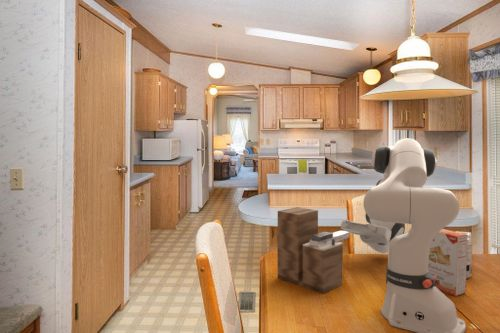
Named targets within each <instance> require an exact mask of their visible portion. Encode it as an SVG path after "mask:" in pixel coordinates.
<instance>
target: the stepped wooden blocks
mask: <svg viewBox="0 0 500 333" xmlns="http://www.w3.org/2000/svg"><path fill="white" fill-rule="evenodd" d="M318 229H319V211H318V209H311V208H305V207H298V206H296V207H292V208H287V209H281V210H278V211H277V279H279V280H282V281H285V282H288V283H290V284H293V285H297V286H300V287H303V288H306V289H309V290H312V291H314V292H318V293H321V294H326V293H328V292H330V291H332V290H334V289H336V288H338V287H340V286H342V285H343V267H344V266H343V263H344V262H343V260H344V259H343V257H344V255H343V252H344V251H343V250H344V243H343V242H341V241H337V242H335V239H332V243H331V244H328V245H325V246H322V247H320V248H318V247H314V246H310V240H311V239H312V235H315V234H318V233H319V230H318Z"/></svg>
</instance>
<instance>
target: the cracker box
mask: <svg viewBox="0 0 500 333" xmlns="http://www.w3.org/2000/svg"><path fill="white" fill-rule="evenodd" d="M458 232H459V231H458ZM458 232H456V231H454V230H449V229H445V228H443V229H442V230H440V231H439V232H438V234H437V235H436V236H435V238H434V239H433V241H432V244H431V247H430V252H429V261H428V271H429V272H430V274H431V275H432V276H435V275H437V276H436V278H437V279H436V280H435V287H437V288H438V289H439V290H440V291H441V292H442V293H443V292H444V293H446V294H448V295H450V296H454V297H457V296H460V295H463V294H466V293H467V292H466V291H467V288H466V287H467V285H466V284H467V279H466V267H467V237H468V235H467V234H463V233H458Z"/></svg>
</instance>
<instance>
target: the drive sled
mask: <svg viewBox="0 0 500 333" xmlns="http://www.w3.org/2000/svg"><path fill="white" fill-rule="evenodd" d="M348 238H350V233H349V232H346V231H345V230H338V231H334V232H329V231H321V232H318V234H315V235H312V239H311V240H310V246H314V247H318V248H320V247H322V246H325V245H328V244H331V243H332V239H335V242H341V241H342V240H346V239H348Z"/></svg>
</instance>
